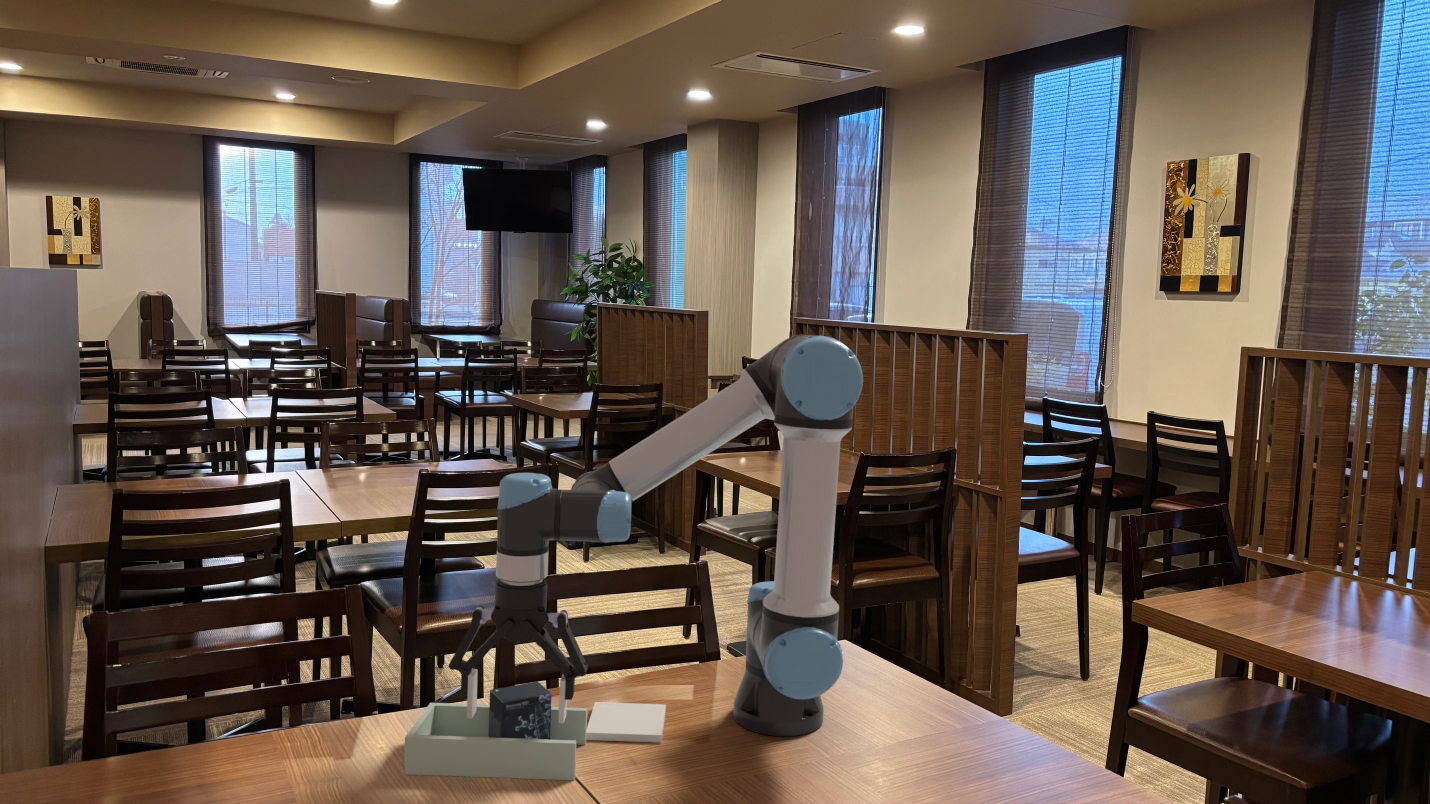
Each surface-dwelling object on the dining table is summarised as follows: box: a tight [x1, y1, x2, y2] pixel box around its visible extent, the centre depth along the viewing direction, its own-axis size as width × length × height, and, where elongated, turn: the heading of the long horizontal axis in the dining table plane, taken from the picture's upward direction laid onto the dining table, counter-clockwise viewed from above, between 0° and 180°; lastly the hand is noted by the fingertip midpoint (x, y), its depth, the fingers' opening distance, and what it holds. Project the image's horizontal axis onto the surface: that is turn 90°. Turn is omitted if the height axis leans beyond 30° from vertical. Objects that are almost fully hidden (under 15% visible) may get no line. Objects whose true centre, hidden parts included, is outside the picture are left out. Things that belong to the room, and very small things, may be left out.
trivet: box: [586, 701, 667, 744], centre depth 161 cm, size 12×12×1 cm
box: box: [489, 680, 553, 740], centre depth 148 cm, size 8×6×11 cm
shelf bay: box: [404, 702, 588, 781], centre depth 148 cm, size 24×12×6 cm, turn 90°
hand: (517, 717), depth 148 cm, fingers open, 13 cm apart
